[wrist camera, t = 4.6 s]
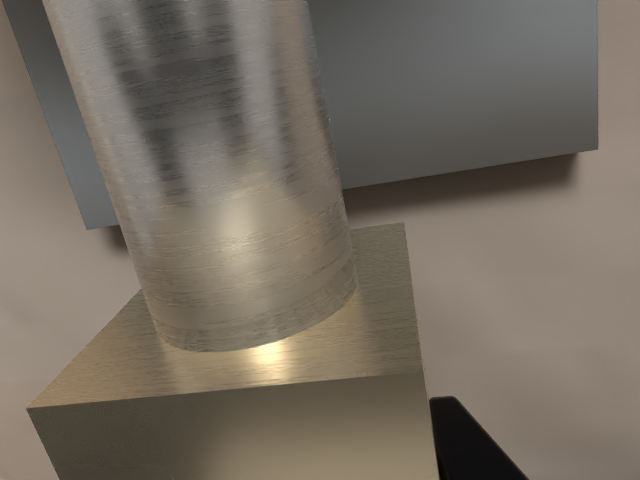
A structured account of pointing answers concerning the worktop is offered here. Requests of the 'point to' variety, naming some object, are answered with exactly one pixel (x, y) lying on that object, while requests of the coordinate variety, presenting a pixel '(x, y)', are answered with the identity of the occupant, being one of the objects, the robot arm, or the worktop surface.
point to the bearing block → (394, 87)
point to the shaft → (232, 263)
